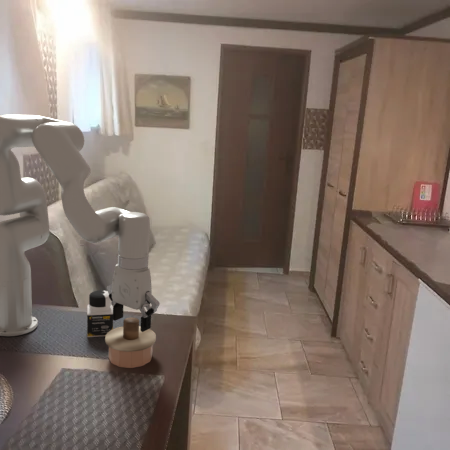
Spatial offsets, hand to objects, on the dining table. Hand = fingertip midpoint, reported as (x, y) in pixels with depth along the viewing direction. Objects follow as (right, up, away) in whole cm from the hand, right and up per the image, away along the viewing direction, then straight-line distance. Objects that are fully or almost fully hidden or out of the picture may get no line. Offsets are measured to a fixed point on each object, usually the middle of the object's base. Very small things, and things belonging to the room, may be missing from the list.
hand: (131, 324), depth 125 cm
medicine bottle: (-12, -5, +15) cm, 20 cm away
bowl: (-1, -9, +2) cm, 9 cm away
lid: (0, -4, +1) cm, 4 cm away
